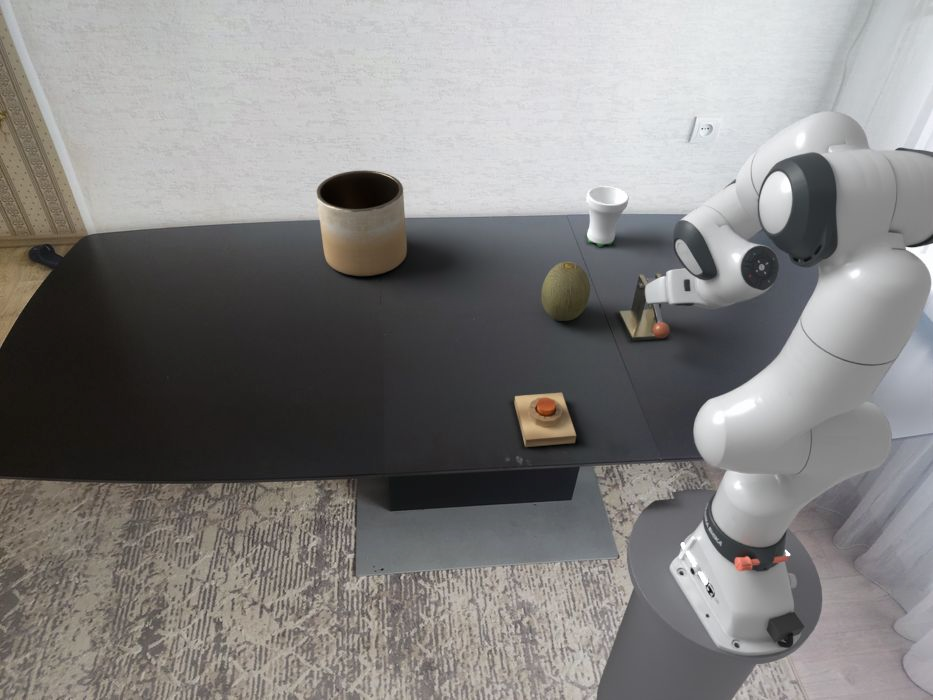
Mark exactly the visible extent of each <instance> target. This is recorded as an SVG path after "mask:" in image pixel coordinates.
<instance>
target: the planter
mask: <svg viewBox="0 0 933 700" xmlns="http://www.w3.org/2000/svg"><path fill="white" fill-rule="evenodd" d="M404 196H405V195H404V187H403V184H402V183H401V181H400V180H399V179H397V177H394V176H393V175H391V174H388V173H385V172H381V171H377V170H364V169H362V170H361V169H360V170H350V171H344V172H340V173H337V174H334V175H332V176H330V177H328V178H326V179H324V180H323V181H321V183H320V184H319V185H318V187H317V188H316V202H317V209H318V217H319V225H320V232H321V239H322V240H321V241H322V248H323V254H324V258H325V261H326V263H327V264H328V265H329V267H331V268H332V269H333V270H335V271H336V272H339V273H342V274H344V275H347V276H353V277H374V276H379V275H383V274H385V273H388V272H390V271H392V270H394V269H396V268H397V267H399V266H400V265H401V264H402V263H403V261H405V258H406V257H407V253H408V243H407V227H406V214H405V200H404V199H405V197H404Z"/></svg>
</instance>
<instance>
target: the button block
mask: <svg viewBox="0 0 933 700" xmlns="http://www.w3.org/2000/svg"><path fill="white" fill-rule="evenodd" d="M542 398H549V399H551V400H553V401H554V402H555V411H554V414H553V415H552V416H549V417H544V416H541V415H539V414H538V413H537V402H538V401H539V400H540V399H542ZM514 407H515V411H516V415H517V420H518V424H519V428H520V432H521V435H522V439H523V443H524V447H525V448H530V447H542V446H554V445H565V444H575V443H576V439H577V434H576V430H575V427H574V424H573V422H572V418H571V415H570V413H569V409H568V406H567V404H566V400H565V397H564V394H563V392H550V393H540V394H539V393H538V394H537V393H536V394H525V395H515V396H514Z"/></svg>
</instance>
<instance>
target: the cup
mask: <svg viewBox="0 0 933 700" xmlns="http://www.w3.org/2000/svg"><path fill="white" fill-rule="evenodd" d="M629 199H630V197H629V195H628V194H627V192H626V191H624V190H623V189H621V188H619V187H615V186H610V185H598V186H594V187H592V188H590V189H589V190H588V191H587V192H586V199H585V202H586V205H587V207H588V213H589V226H588V229H587V234H586V236H587V242H588V243H589V244H596V245H597V247H599V248H601V247H604V246H605V245H608V246H611V245H612V244H613V242H614V241H615V238H616V228H617V224H618V221H619V219H620V217H621V216H622V214H623V212H624V211H625V210H626V208H627V207H628V203H629Z"/></svg>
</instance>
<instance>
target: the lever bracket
mask: <svg viewBox="0 0 933 700" xmlns="http://www.w3.org/2000/svg"><path fill="white" fill-rule="evenodd" d="M660 277H663V276H662V274H661V273H655V275H654V278H656V279H658V278H660ZM646 279H647V278H646V277H645V275H644V274H639V275H638V279H637V283H636V287H635V291H634V296H633V298H632V299H633V300H632V304H631V309H630V310H620V311H619V312H618V316H619V319H620V321H621V322H622V325H623V326H624V329H625V331H626V333H627V334H628V337H629V339H630V341H631V342H639V341H640V342H641V341H653V340H665V338H658V337H656V336H655V335H654V333H653V327H654V325H655V324H656V319H655V315H654V310H653V306H652V304H648V303H647V302H646V297H645V287H646V285H647V284H648V282H647V280H646ZM646 303H647V306H646ZM645 306H646V307H647V308H646V309H645ZM661 306H662V304H659V308H660V309H661Z"/></svg>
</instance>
